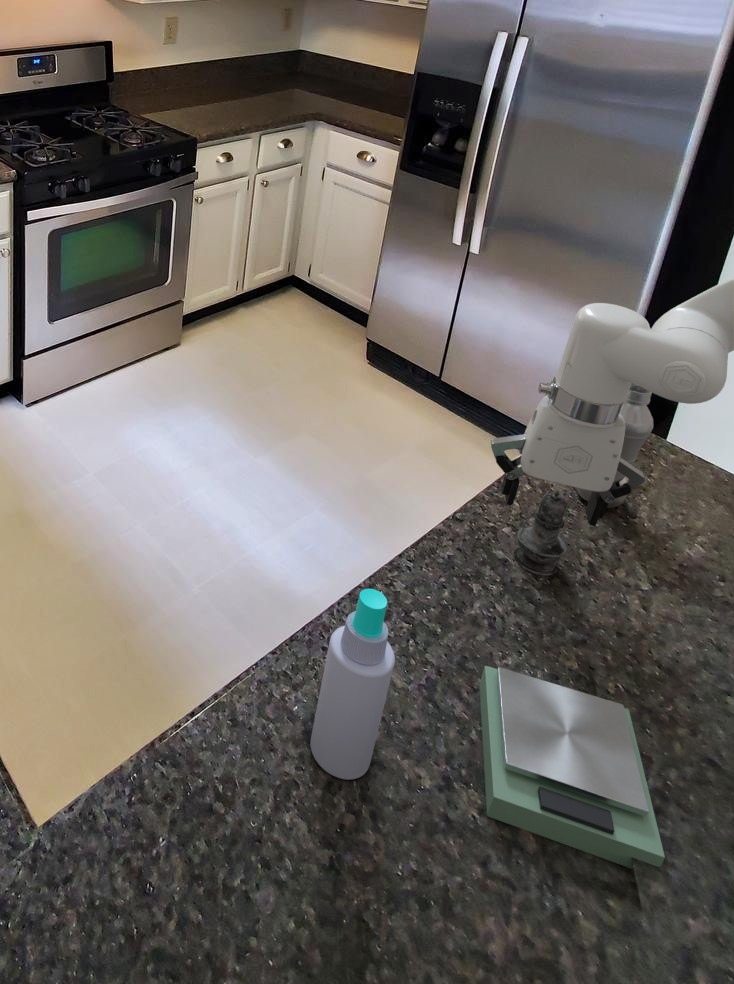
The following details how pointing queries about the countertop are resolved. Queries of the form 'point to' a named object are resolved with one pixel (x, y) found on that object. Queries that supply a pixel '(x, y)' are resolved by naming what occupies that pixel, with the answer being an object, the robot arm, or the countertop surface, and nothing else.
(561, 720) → the scale platform
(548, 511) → the grey chess piece
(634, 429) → the plastic bottle
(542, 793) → the scale
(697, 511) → the countertop surface
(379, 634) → the spray bottle
